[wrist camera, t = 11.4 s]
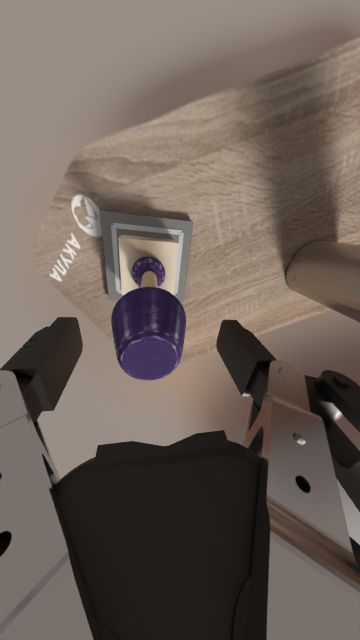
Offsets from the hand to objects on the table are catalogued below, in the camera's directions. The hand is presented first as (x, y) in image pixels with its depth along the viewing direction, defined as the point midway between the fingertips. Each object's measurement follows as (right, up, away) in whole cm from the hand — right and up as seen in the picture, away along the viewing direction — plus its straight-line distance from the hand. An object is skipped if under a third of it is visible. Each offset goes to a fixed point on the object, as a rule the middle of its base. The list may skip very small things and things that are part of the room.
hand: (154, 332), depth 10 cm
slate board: (-3, +10, +16) cm, 19 cm away
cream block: (-3, +9, +16) cm, 18 cm away
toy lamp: (-3, +7, +12) cm, 15 cm away
